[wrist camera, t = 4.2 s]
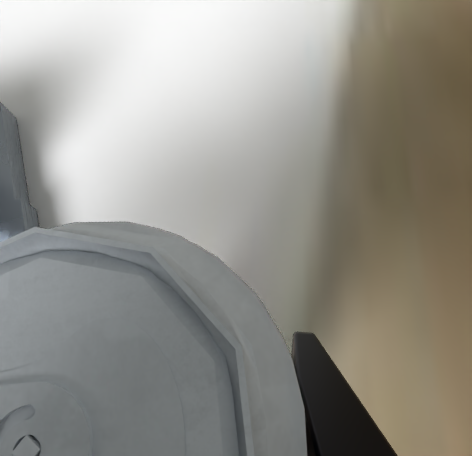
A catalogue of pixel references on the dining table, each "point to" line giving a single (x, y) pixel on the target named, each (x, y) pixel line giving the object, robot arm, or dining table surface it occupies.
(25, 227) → the vise base
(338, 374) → the robot arm
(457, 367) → the dining table surface
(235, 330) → the beer can
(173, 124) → the dining table surface
